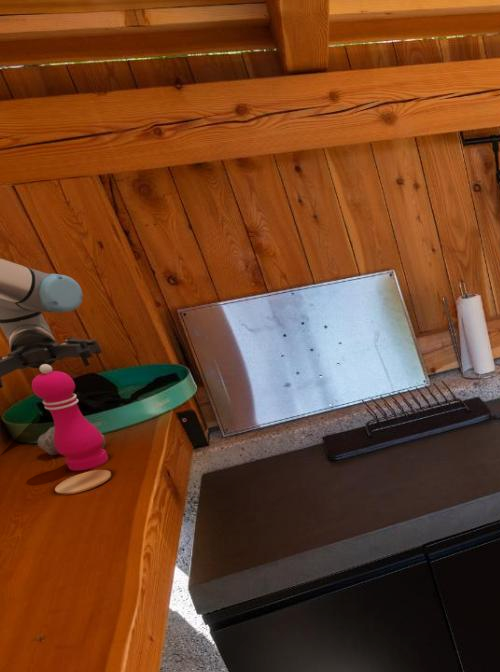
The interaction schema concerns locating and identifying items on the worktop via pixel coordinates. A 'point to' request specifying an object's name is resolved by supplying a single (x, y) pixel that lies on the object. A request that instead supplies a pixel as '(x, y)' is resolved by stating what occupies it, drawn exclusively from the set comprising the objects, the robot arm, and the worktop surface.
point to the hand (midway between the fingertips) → (41, 370)
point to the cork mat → (83, 482)
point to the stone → (52, 442)
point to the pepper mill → (69, 421)
